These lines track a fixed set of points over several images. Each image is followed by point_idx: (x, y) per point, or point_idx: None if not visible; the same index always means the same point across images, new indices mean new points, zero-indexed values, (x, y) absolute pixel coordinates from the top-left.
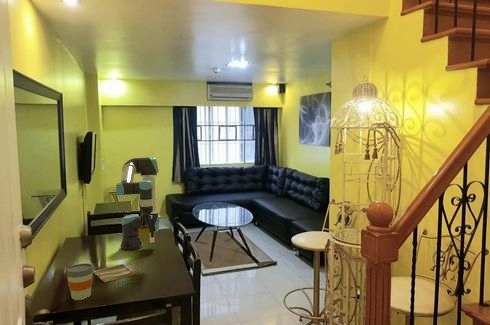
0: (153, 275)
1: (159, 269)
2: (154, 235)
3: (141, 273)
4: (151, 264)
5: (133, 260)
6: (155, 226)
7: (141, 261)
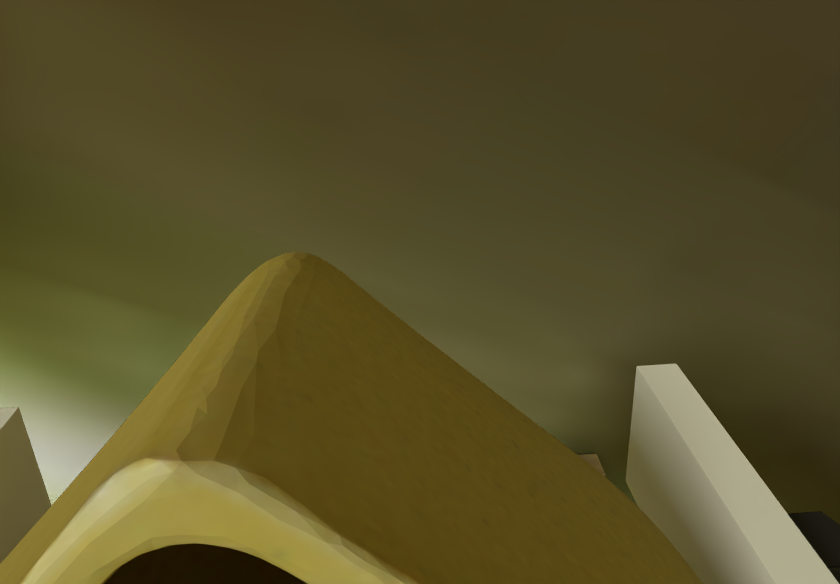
0: (799, 299)
1: (666, 147)
2: (372, 301)
3: (619, 389)
4: (375, 160)
5: (28, 314)
6: (392, 574)
7: (141, 235)
